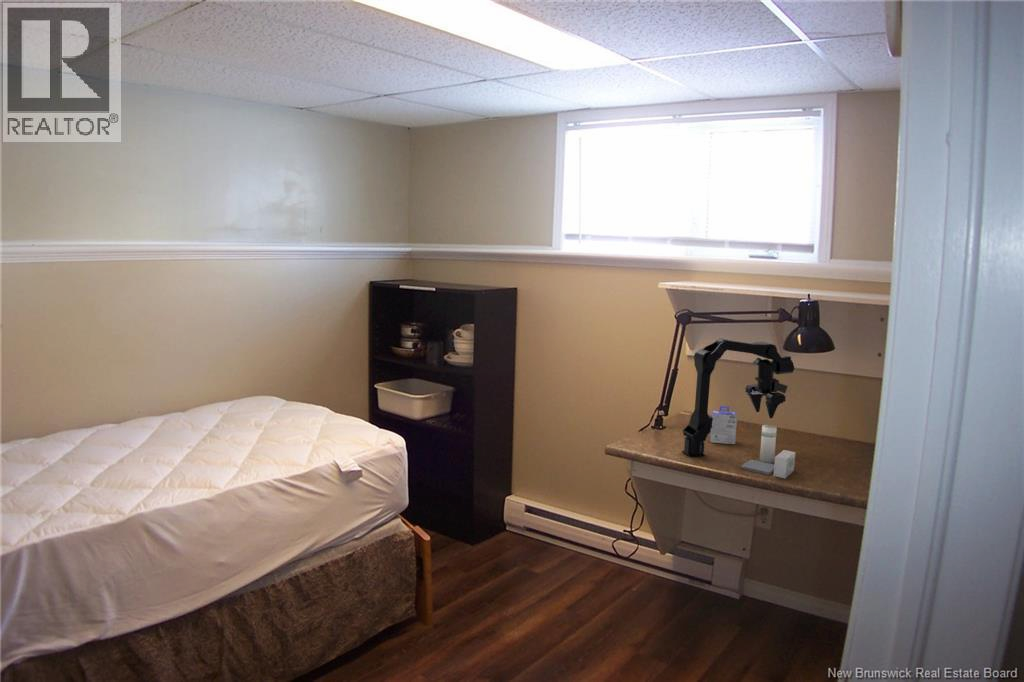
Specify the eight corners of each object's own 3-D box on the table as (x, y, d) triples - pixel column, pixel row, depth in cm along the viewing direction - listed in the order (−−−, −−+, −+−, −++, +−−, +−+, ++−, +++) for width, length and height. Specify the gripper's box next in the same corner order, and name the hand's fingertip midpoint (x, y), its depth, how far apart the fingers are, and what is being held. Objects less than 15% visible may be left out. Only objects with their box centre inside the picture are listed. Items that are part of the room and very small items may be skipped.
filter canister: (765, 463, 260) (767, 429, 258) (756, 459, 265) (759, 425, 263) (777, 462, 261) (779, 428, 259) (768, 458, 266) (771, 424, 264)
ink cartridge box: (734, 440, 288) (736, 406, 285) (735, 444, 282) (738, 409, 280) (709, 439, 290) (711, 404, 287) (710, 442, 284) (712, 407, 282)
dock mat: (740, 468, 253) (740, 466, 253) (750, 462, 261) (750, 459, 261) (769, 475, 247) (769, 472, 247) (778, 467, 255) (778, 465, 255)
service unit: (772, 475, 247) (774, 456, 245) (781, 468, 254) (783, 449, 253) (785, 478, 244) (787, 459, 243) (794, 471, 252) (795, 452, 251)
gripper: (799, 378, 263) (797, 419, 266) (770, 369, 281) (769, 407, 284) (772, 381, 261) (770, 422, 264) (745, 371, 279) (744, 409, 282)
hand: (764, 415), depth 273 cm, fingers open, 9 cm apart
